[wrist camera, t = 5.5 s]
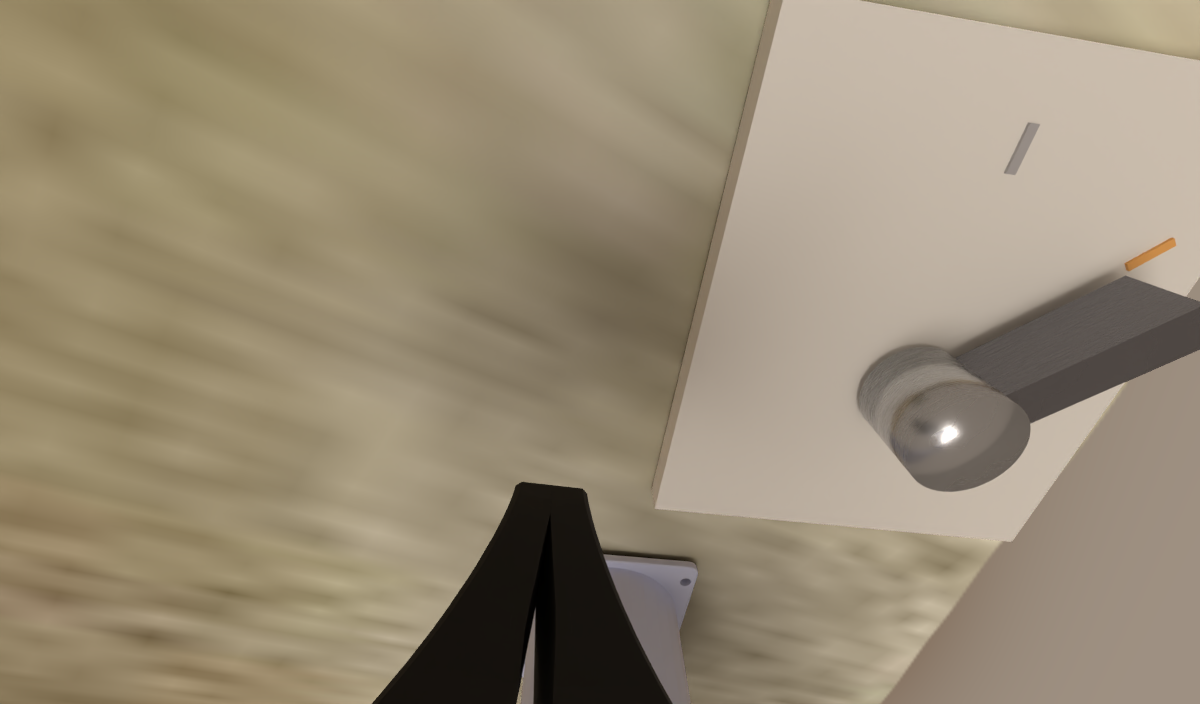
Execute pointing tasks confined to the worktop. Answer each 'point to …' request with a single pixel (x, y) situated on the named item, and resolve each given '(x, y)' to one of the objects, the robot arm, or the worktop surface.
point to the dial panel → (915, 249)
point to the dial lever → (1020, 380)
